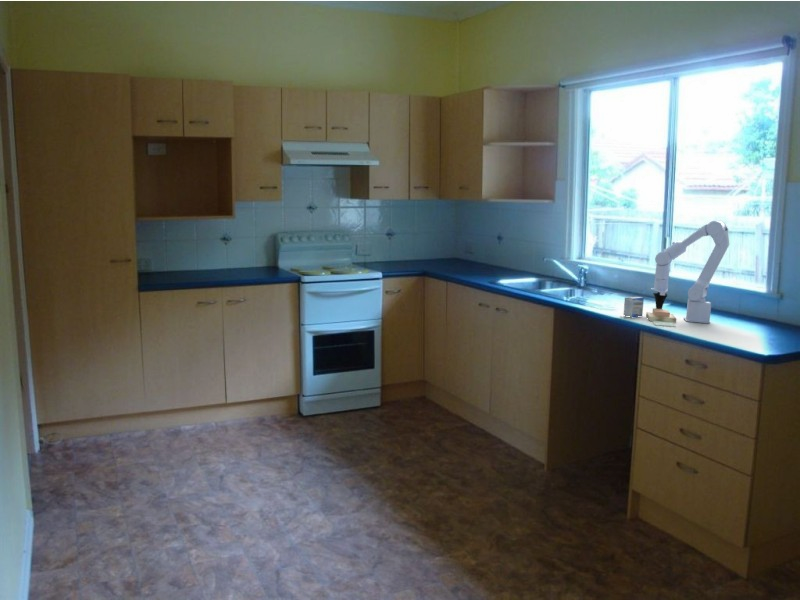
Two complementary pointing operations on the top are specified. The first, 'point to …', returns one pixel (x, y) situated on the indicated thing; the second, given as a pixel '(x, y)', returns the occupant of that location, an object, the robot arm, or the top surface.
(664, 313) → the salmon pink flat block
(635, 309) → the medicine box
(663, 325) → the mat
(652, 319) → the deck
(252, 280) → the top surface
